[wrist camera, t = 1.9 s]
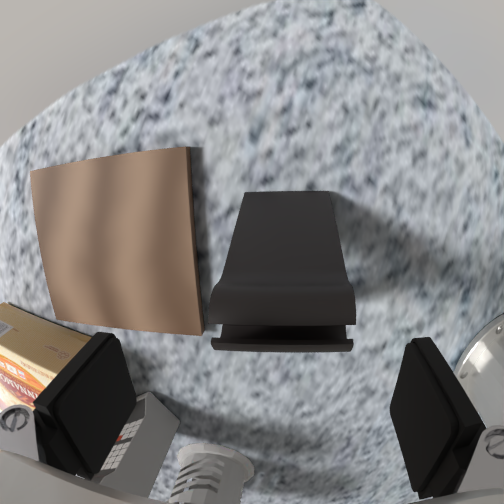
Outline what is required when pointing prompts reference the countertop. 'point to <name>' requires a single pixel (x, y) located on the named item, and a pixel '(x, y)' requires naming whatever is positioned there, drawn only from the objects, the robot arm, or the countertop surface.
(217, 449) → the french press
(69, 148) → the countertop surface
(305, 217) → the phone stand
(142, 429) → the vintage mobile phone
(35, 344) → the coffeecake box
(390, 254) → the countertop surface
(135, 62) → the countertop surface
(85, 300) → the walnut board
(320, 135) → the countertop surface
